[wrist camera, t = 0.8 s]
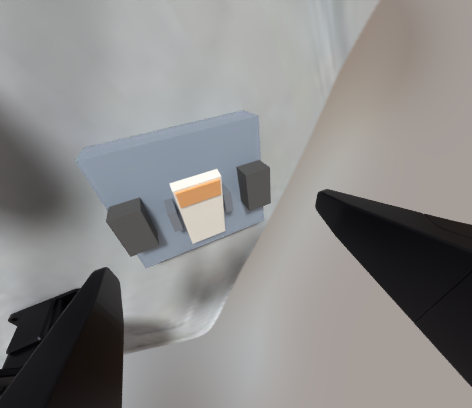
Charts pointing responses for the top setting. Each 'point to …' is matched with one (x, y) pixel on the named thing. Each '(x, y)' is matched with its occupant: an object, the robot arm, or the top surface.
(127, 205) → the plug left
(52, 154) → the top surface
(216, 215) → the breaker paddle
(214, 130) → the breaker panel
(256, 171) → the plug right
